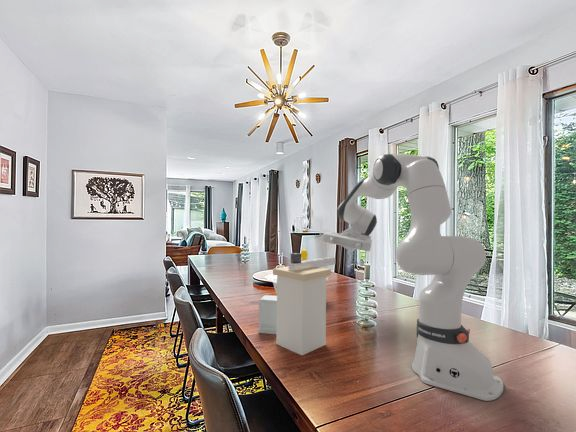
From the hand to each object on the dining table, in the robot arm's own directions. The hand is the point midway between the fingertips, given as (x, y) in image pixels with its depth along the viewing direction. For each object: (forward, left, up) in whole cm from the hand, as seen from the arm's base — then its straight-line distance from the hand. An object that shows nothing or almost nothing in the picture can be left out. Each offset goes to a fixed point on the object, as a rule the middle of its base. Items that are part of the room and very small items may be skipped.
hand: (342, 244), depth 126 cm
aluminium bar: (0, +17, -7) cm, 19 cm away
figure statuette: (+60, -46, -33) cm, 82 cm away
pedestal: (0, +24, -33) cm, 41 cm away
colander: (+37, -12, -33) cm, 51 cm away
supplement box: (+17, +23, -33) cm, 44 cm away
